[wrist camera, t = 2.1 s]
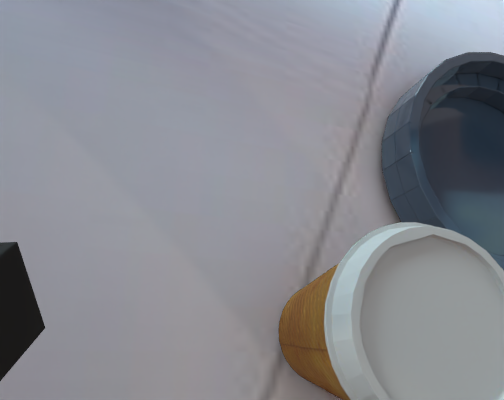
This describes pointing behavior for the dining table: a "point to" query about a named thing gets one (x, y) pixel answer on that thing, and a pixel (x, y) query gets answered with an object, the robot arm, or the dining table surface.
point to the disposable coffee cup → (402, 319)
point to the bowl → (451, 150)
